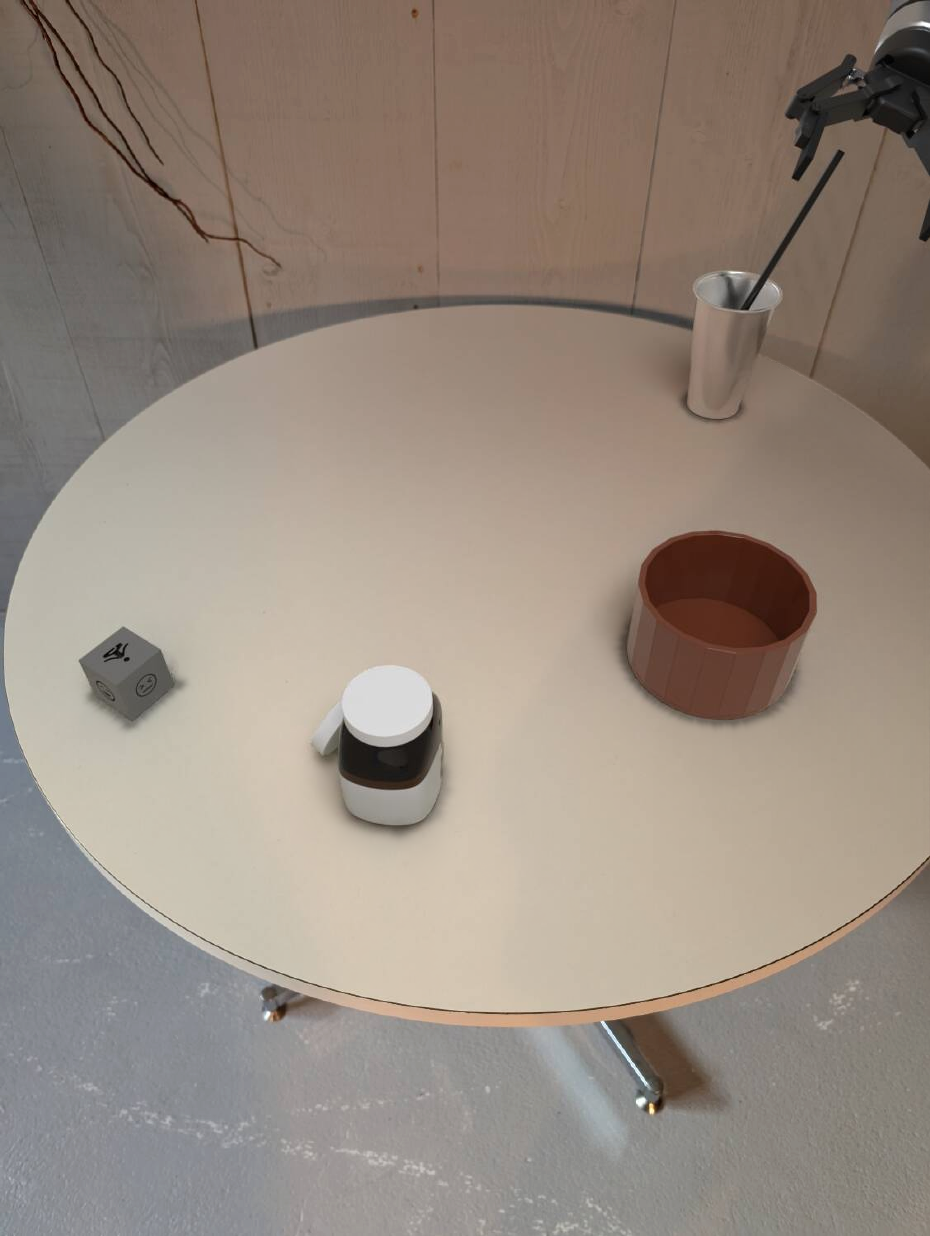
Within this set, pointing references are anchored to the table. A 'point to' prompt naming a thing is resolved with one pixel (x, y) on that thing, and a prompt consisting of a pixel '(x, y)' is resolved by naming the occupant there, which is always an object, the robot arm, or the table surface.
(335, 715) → the spread jar
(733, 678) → the crock
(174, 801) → the table surface
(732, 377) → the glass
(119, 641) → the dice cube
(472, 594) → the table surface
